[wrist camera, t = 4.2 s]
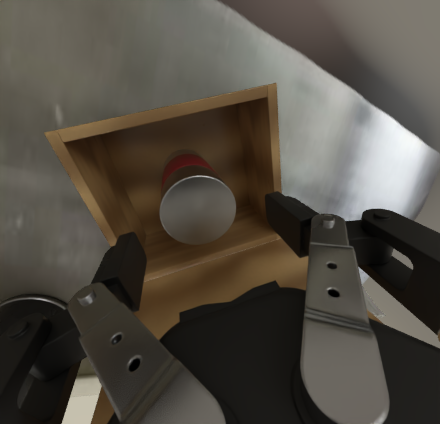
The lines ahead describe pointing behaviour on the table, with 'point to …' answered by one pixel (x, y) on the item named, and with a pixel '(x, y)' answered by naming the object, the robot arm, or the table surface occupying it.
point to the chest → (154, 166)
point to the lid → (212, 291)
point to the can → (194, 200)
